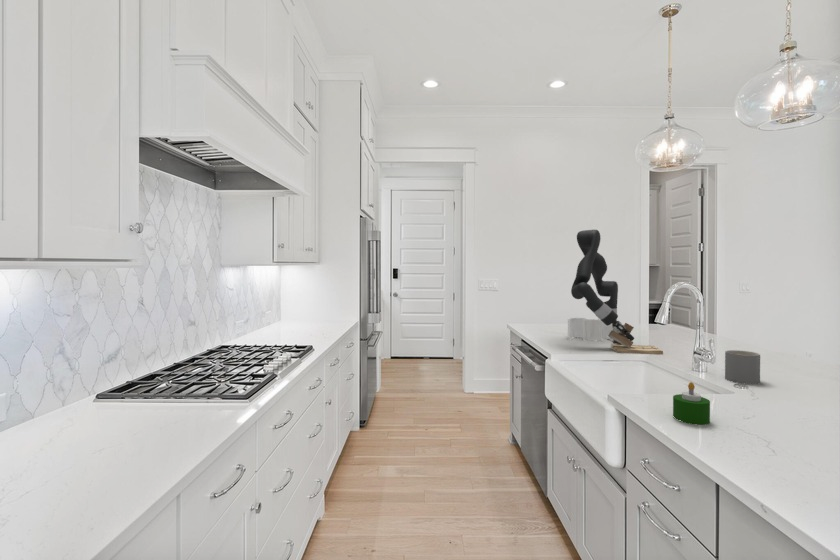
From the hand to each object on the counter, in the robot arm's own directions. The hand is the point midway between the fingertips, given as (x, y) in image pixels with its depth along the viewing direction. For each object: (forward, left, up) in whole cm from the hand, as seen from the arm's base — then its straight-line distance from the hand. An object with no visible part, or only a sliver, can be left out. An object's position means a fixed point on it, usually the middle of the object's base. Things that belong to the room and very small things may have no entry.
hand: (631, 338), depth 205 cm
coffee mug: (+50, +25, -6) cm, 56 cm away
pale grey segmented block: (-30, -14, -6) cm, 34 cm away
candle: (+99, -8, -6) cm, 100 cm away
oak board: (0, +2, -6) cm, 6 cm away
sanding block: (0, -6, -2) cm, 6 cm away
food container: (-18, 0, -6) cm, 19 cm away
